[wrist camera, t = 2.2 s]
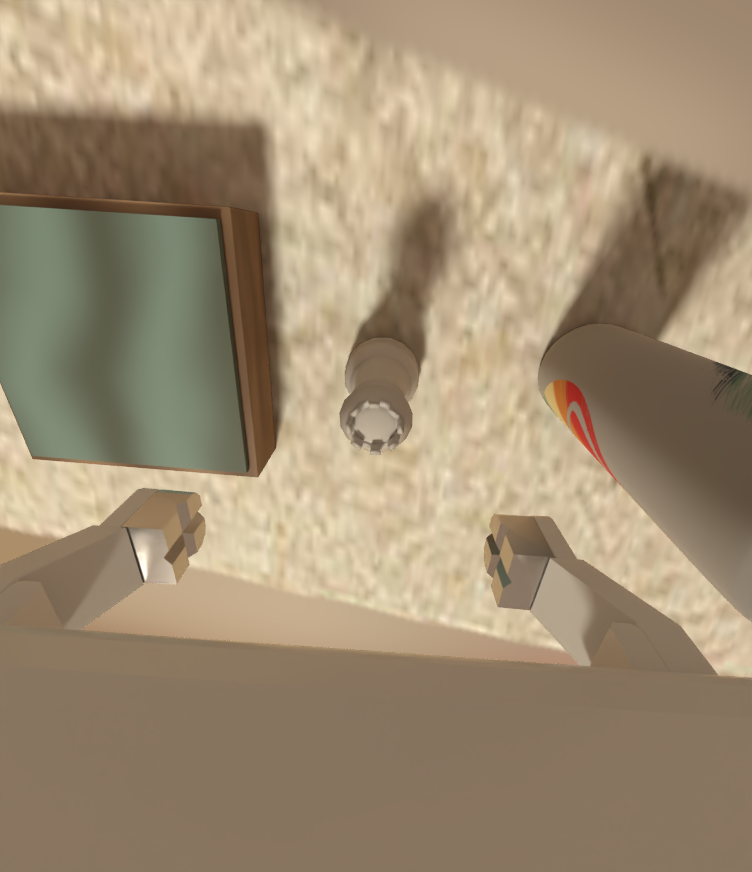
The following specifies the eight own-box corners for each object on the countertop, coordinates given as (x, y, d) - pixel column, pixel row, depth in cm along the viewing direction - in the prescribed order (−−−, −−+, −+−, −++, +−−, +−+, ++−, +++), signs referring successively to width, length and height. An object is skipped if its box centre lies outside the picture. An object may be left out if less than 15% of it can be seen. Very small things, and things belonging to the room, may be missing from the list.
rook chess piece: (373, 417, 24) (362, 489, 17) (331, 361, 23) (300, 415, 16) (432, 381, 23) (447, 443, 16) (392, 319, 21) (389, 357, 14)
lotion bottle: (551, 428, 24) (989, 959, 6) (522, 350, 22) (1069, 821, 4) (646, 390, 22) (1588, 946, 5) (624, 302, 20) (2219, 710, 3)
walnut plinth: (257, 213, 19) (226, 206, 16) (275, 448, 26) (255, 480, 22) (-5, 196, 20) (-94, 185, 16) (77, 432, 26) (26, 462, 23)
